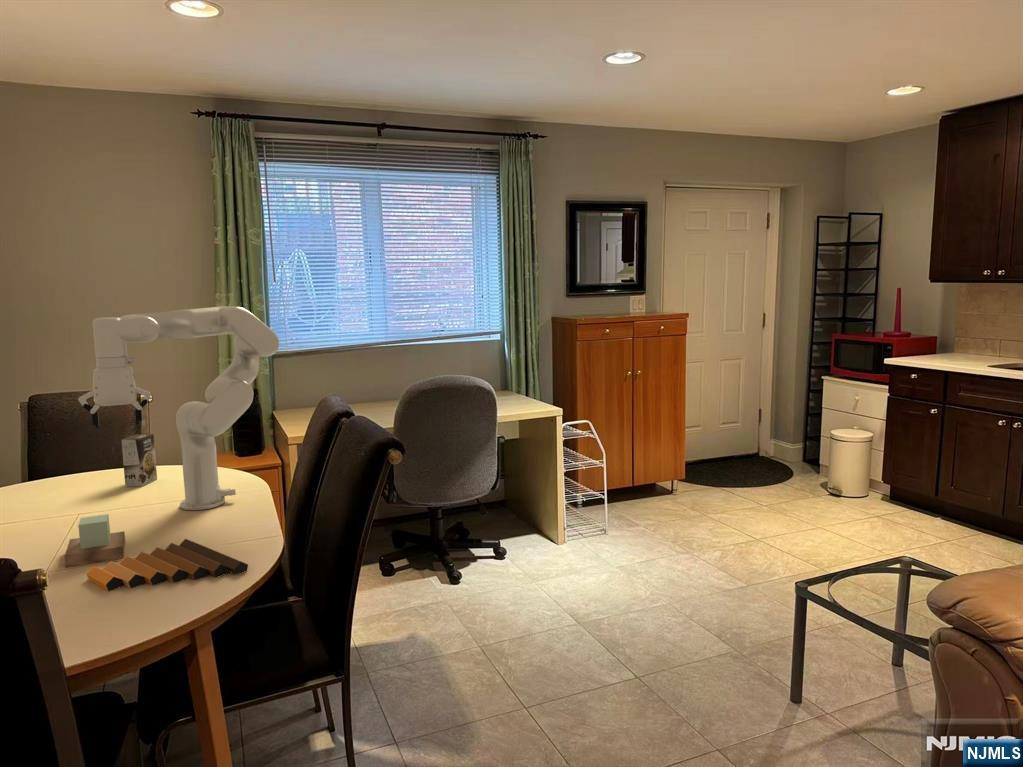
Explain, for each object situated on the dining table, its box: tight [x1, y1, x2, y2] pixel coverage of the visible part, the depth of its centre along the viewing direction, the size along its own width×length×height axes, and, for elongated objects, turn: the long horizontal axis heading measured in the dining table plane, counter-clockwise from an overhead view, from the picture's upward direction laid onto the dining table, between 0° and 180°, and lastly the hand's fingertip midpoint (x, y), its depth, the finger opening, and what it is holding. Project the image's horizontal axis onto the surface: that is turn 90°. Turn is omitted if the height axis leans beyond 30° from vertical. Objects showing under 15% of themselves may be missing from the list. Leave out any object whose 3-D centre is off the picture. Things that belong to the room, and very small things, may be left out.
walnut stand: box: [64, 531, 126, 568], centre depth 173 cm, size 12×12×3 cm
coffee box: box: [121, 433, 158, 488], centre depth 236 cm, size 9×6×16 cm
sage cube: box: [78, 513, 111, 549], centre depth 173 cm, size 6×6×6 cm
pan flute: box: [85, 538, 249, 592], centre depth 160 cm, size 25×3×25 cm
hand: (118, 425), depth 191 cm, fingers open, 9 cm apart
